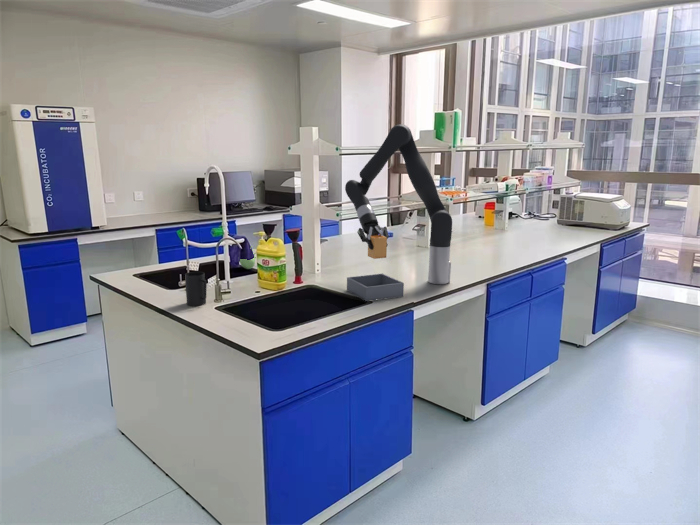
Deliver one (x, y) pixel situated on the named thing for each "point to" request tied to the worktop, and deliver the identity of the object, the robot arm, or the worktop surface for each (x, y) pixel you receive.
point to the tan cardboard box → (378, 247)
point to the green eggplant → (248, 262)
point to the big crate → (375, 287)
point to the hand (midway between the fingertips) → (379, 247)
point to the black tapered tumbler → (195, 288)
